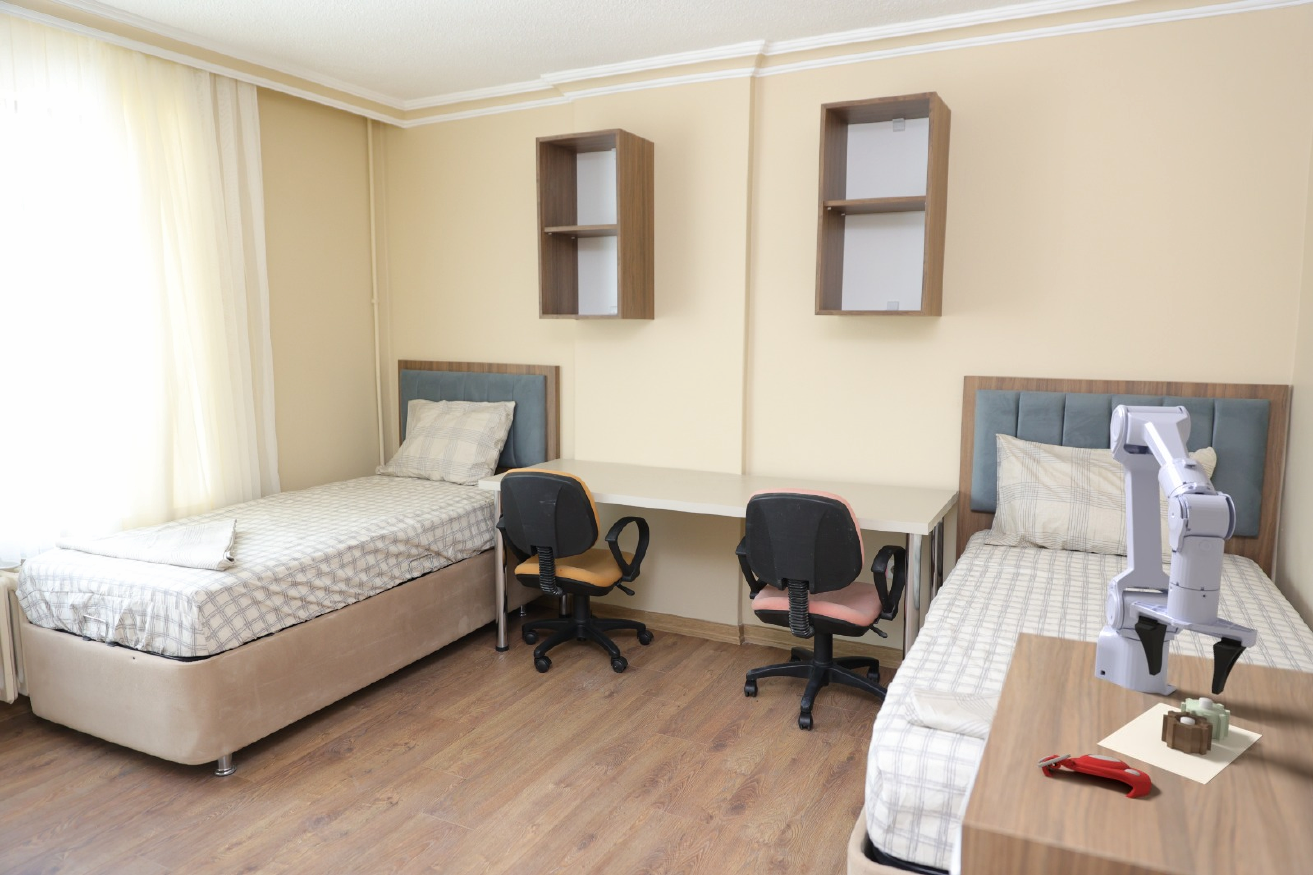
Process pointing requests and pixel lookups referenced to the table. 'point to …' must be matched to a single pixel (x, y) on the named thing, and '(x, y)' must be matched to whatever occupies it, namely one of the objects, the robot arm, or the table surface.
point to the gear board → (1147, 746)
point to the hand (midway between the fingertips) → (1185, 682)
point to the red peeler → (1101, 770)
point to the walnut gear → (1187, 733)
